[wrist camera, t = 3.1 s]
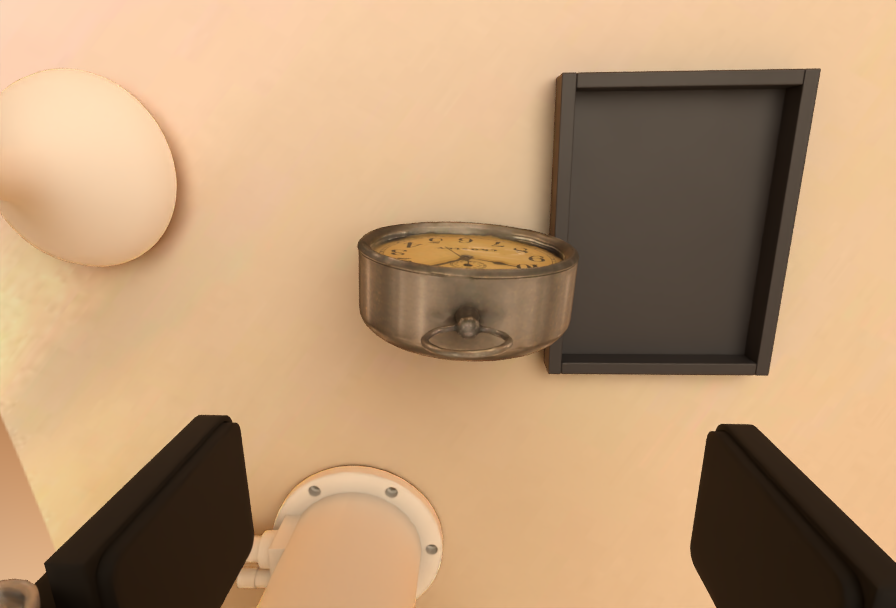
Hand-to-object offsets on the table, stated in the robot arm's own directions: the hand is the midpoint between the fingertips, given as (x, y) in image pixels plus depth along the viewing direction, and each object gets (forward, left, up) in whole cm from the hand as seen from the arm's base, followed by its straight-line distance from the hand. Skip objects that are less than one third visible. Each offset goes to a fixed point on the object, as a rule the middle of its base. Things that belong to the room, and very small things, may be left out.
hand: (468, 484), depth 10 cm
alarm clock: (0, 0, -24) cm, 24 cm away
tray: (+12, +2, -24) cm, 26 cm away
